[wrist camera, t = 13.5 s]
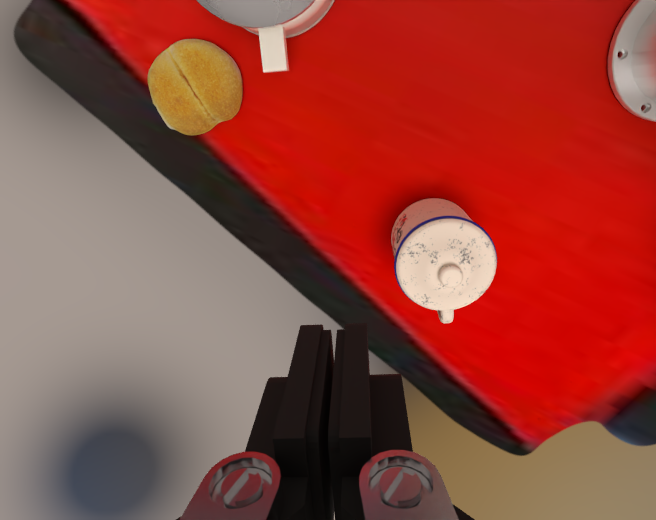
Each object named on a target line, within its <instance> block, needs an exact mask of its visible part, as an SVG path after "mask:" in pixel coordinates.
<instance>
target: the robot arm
mask: <svg viewBox="0 0 656 520" xmlns="http://www.w3.org/2000/svg"><path fill="white" fill-rule="evenodd" d="M618 52H619V53H620V56H619V57H618V55H617V54H618ZM608 76H609V81H610V86H611V88H612V90H613V92H614V95H615V97H616V98H617V99H618V101H619V102H620V103H621V105H622V106H623V107H624V108H625V109H627V110H628V111H629V112H630V113H632V114H633V115H635V116H637V117H640V118H642V119H645V120H649V121H653V122H656V0H635V1H634V2H633V4H632V5H631V6H630V7H629V9H628V10H627V11H626V13H625V14H624V15H623V17H622V19H621V21H620V23H619V24H618V26H617V28H616V30H615V33H614V35H613V38H612V41H611V44H610V49H609V55H608ZM642 105H643V108H642V109H641V107H642ZM334 512H335V520H474V519H473V518H471V517H470V516H469V515H467V514H466V513H464V512H463V511H462V510H460V509H459V508H457V507H456V506H455V505H453V504H452V502H451V499H450V497H449V494H448V492H447V490H446V487H445V485H444V482H443V480H442V477H441V475H440V473H439V472H438V470H437V469H436V467H435V465H433V464H432V463H431V462H430V461H429V460H428V459H426V458H425V457H423V456H421V455H419V454H417V453H415V452H413V450H412V444H411V437H410V430H409V423H408V417H407V410H406V404H405V397H404V391H403V383H402V377H401V374H386V375H385V374H384V375H370V373H369V354H368V335H367V323H353V324H345V329H344V330H337V338H336V349H335V360H334V357H333V345H332V335H331V330H323V325H301V326H300V330H299V334H298V338H297V342H296V346H295V350H294V354H293V358H292V362H291V366H290V370H289V374H288V377H273V378H272V377H271V378H269V379H268V381H267V384H266V387H265V390H264V393H263V396H262V399H261V403H260V406H259V409H258V412H257V415H256V419H255V422H254V425H253V428H252V431H251V435H250V437H249V441H248V444H247V447H246V450H245V452H241V453H237V454H233V455H231V456H229V457H226V458H224V459H222V460H221V461H219V462H218V463H217V464H215V465H214V466H213V467H212V468H211V469H210V470H209V471H208V473H207V474H206V475H205V477H204V478H203V480H202V482H201V483H200V485H199V487H198V489H197V490H196V492H195V494H194V495H193V497H192V499H191V501H190V502H189V504H188V506H187V507H186V509H185V511H184V513H183V515H182V516H181V517H179V518H178V519H176V520H334Z"/></svg>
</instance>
